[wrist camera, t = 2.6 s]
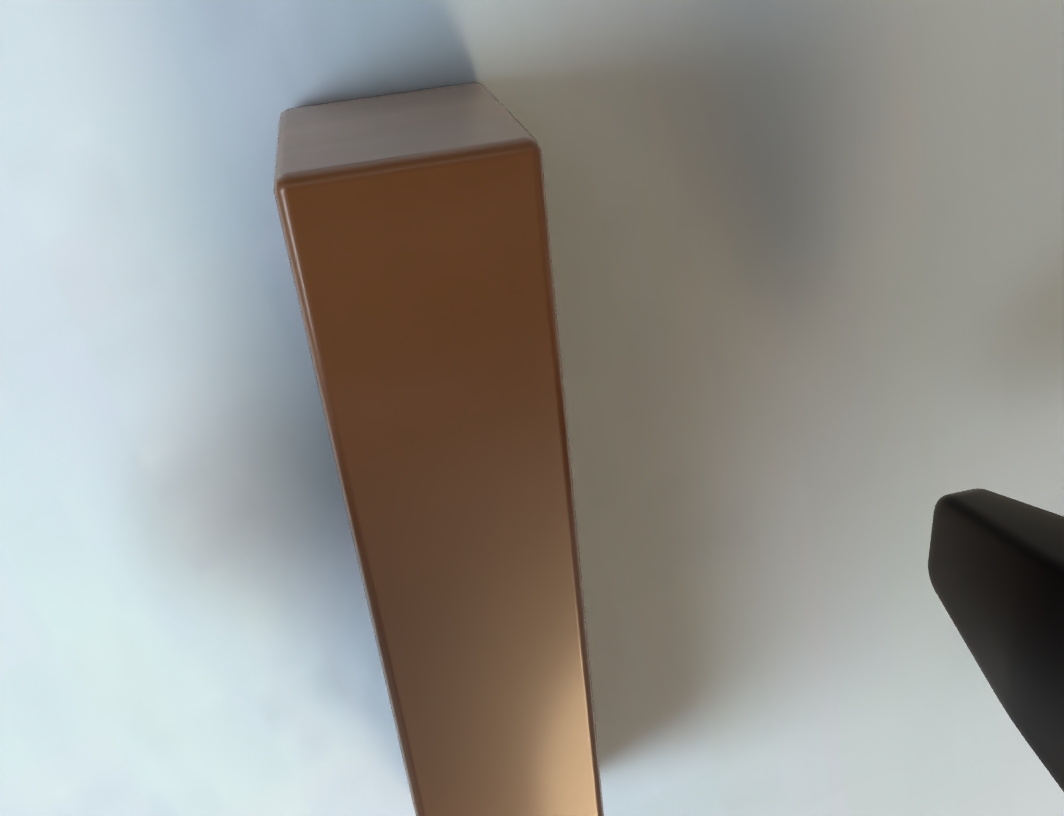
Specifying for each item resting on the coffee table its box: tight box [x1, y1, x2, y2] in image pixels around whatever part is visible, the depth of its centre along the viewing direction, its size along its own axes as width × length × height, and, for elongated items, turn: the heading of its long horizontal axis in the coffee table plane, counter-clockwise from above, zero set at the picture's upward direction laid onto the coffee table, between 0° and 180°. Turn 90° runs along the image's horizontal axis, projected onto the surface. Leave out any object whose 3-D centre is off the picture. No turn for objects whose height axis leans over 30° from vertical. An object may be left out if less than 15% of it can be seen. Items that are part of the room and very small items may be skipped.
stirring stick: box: [274, 83, 604, 816], centre depth 10 cm, size 9×2×2 cm, turn 6°
